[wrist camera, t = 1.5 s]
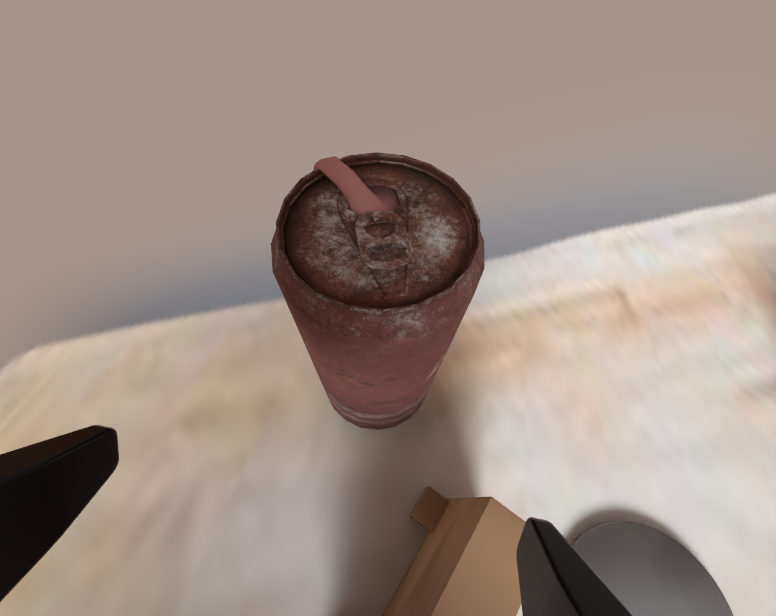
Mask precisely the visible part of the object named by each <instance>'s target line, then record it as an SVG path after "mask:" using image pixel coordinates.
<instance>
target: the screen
mask: <svg viewBox="0 0 776 616" xmlns="http://www.w3.org/2000/svg"><path fill="white" fill-rule="evenodd" d="M410 516H411V517H412V518H413V519H415V520H416V521H417V522H418V523H420V524H421V525H422V526H423V527H424V528H426V529H427V530H428V531H429V534H428V535H427V537H426V539H425V541H424V543H423V544H422V546H421V548H420V550H419V551H418V553H417V555H416V557H415V559H414V560H413V562H412V564H411V566H410V567H409V569H408V571H407V573H406V575H405V576H404V578H403V580H402V582H401V583H400V585H399V587H398V589H397V591H396V592H395V594H394V596H393V598H392V599H391V601H390V603H389V605H388V607H387V608H386V610H385V612H384V614H383V615H382V616H516V614H517V612H518V610H519V607H520V605H521V594H520V586H519V577H518V568H517V559H516V553H517V546H518V543H519V540H520V537H521V534H522V531H523V528H524V525H525V523H526V522H525V521H524V520H522V519H521V518H520V517H518V516H517V515H516V514H514V513H513V512H512V511H510V510H509V509H507V508H506V507H505V506H503V505H502V504H501V503H499V502H498V501H497V500H495V499H494V498H493V497H477V498H455V499H448V500H446V499H445V498H443V497H442V496H441V495H439V494H438V493H437V492H436V491H434V490H433V489H432V488H430V487H427V488H426V490H425V491H424V493H423V495H422V496H421V498H420V500H419V501H418V503H417V505H416V506H415V508H414V510H413V511H412V513H411V515H410Z"/></svg>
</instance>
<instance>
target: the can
mask: <svg viewBox="0 0 776 616" xmlns="http://www.w3.org/2000/svg"><path fill="white" fill-rule="evenodd" d="M271 250H272V266H273V273H274V275H275V278H276V280H277V282H278V284H279V286H280V289H281V291H282V293H283V296H284V298H285V300H286V302H287V305H288V307H289V309H290V312H291V314H292V316H293V318H294V321H295V323H296V325H297V327H298V330H299V332H300V334H301V336H302V339H303V341H304V343H305V346H306V348H307V350H308V352H309V355H310V357H311V359H312V361H313V364H314V366H315V368H316V370H317V373H318V375H319V377H320V380H321V382H322V384H323V386H324V389H325V391H326V393H327V395H328V397H329V399H330V401H331V403H332V406H333V408H334V409H335V410H336V411H337V412H338V413H339V414H340V415H341V416H342V417H343V418H344V419H345V420H347V421H349V422H351V423H353V424H355V425H357V426H359V427H361V428H369V429H377V430H379V429H384V428H389V427H394V426H397V425H398V424H400V423H402V422H403V421H405V420H407V419H409V418H410V417H411V416H412V415H413V414H414V413H415V411H416V410H417V409H418V408H419V407H420V406H421V404H422V402H423V400H424V398H425V396H426V394H427V392H428V390H429V387H430V385H431V383H432V381H433V379H434V377H435V375H436V373H437V371H438V369H439V366H440V364H441V362H442V360H443V358H444V356H445V354H446V352H447V350H448V348H449V346H450V343H451V341H452V339H453V337H454V335H455V333H456V331H457V329H458V327H459V325H460V322H461V320H462V318H463V316H464V314H465V312H466V310H467V308H468V306H469V304H470V302H471V299H472V297H473V295H474V293H475V290H476V288H477V285H478V283H479V280H480V278H481V275H482V273H483V270H484V240H483V237H482V235H481V232H480V219H479V217H478V215H477V212H476V210H475V208H474V205H473V203H472V200H471V198H470V197H469V196H468V194H467V193H466V192H465V191H464V190H463V189H462V188H461V187H460V186H459V184H458V183H457V182H456V181H455V180H454V179H453V178H452V177H450V176H448V175H447V174H445V173H444V172H442V171H441V170H439V169H437V168H436V167H434V166H433V165H431V164H428V163H425V162H422V161H419V160H416V159H413V158H410V157H408V156H404V155H395V154H385V153H369V154H359V155H349V156H346V157H343V158H340V159H338V158H337V157H330V158H325V159H321V160H319V161H318V162H317V163H316V164H315V166H314V171H312V172H311V173H309V174H308V175H306V176H305V177H303V178H302V179H300V180H299V182H298V183H297V184H296V185H295V187H294V188H293V189H292V190H291V191H290V193H289V194H288V195H287V196H286V197H285V199H284V201H283V204H282V207H281V210H280V213H279V216H278V218H277V221H276V231H275V234H274V237H273V240H272V243H271Z"/></svg>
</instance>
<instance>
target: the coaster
mask: <svg viewBox="0 0 776 616" xmlns="http://www.w3.org/2000/svg"><path fill="white" fill-rule="evenodd" d="M571 546H572V547H573V548H574V549H575V551H576V552H577V553H578V554H579V555H580V556H581V557H582V559H583V560H584V561H585V562H586V563H587V564H588V565H589V566H590V568H591V569H592V570H593V571H594V572H595V573H596V574H597V576H598V577H599V578H600V579H601V580H602V581H603V582H604V584H605V585H606V586H607V587H608V588H609V589H610V590H611V592H612V593H613V594H614V595H615V596H616V597H617V598H618V599H619V601H620V602H621V603H622V604H623V605H624V606H625V607H626V609H627V610H628V611H629V612H630V613H631V614H632V615H633V616H733V614H732V611H731V609H730V607H729V605H728V603H727V601H726V599H725V597H724V595H723V593H722V592H721V590H720V589H719V587H718V585H717V584H716V582H715V581H714V579H713V578H712V577H711V575H710V574H709V573H708V571H707V570H706V569H705V567H704V566H703V565H702V564H701V563H700V562H699V561H698V560H697V559H696V558H695V557H694V556H693V555H692V554H691V553H690V552H689V551H688V550H687V549H686V548H685V547H683V546H682V545H681V544H679V543H678V542H677V541H675V540H674V539H672V538H671V537H669V536H667V535H666V534H664V533H662V532H660V531H658V530H656V529H654V528H651V527H648V526H645V525H642V524H637V523H632V522H606V523H602V524H599V525H596V526H594V527H592V528H590V529H588V530H586V531H585V532H584V533H582V534H581V535H580V536H579V537H578V538H577V539H576V540H575V541H574V542H573V543H572V545H571Z"/></svg>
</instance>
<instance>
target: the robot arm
mask: <svg viewBox="0 0 776 616" xmlns="http://www.w3.org/2000/svg"><path fill="white" fill-rule="evenodd" d="M118 462H119V451H118V438H117V432H116V431H115V429H113V428H110V427H105V426H100V425H93V426H90V427H87V428H83V429H80V430H77V431H74V432H71V433H68V434H64V435H61V436H58V437H55V438H52V439H48V440H45V441H42V442H39V443H36V444H33V445H29V446H26V447H23V448H20V449H17V450H14V451H10V452H7V453H4V454H1V455H0V602H1V601H2V600H3V599H4V597H5V596H6V595H7V594H8V593H9V592H10V591H11V590H12V589H13V588H14V587H15V586H16V585H17V584H18V583H19V582H20V580H21V579H22V578H23V577H24V576H25V575H26V574H27V573H28V572H29V571H30V570H31V569H32V568H33V567H34V566H35V565H36V563H37V562H38V561H39V560H40V559H41V558H42V557H43V556H44V555H45V554H46V553H47V552H48V551H49V550H50V548H51V547H52V546H53V545H54V544H55V543H56V542H57V541H58V540H59V538H60V537H61V536H62V535H63V534H64V532H65V531H66V530H67V529H68V528H69V526H70V525H71V524H72V523H73V521H74V520H75V519H76V518H77V517H78V515H79V514H80V513H81V512H82V510H83V509H84V508H85V507H86V505H87V504H88V503H89V502H90V500H91V499H92V498H93V497H94V495H95V494H96V493H97V492H98V491H99V489H100V488H101V487H102V486H103V484H104V483H105V482H106V481H107V479H108V478H109V477H110V476H111V474H112V473H113V472H114V470H115V469H116V467H117V465H118ZM516 559H517V568H518V577H519V586H520V594H521V603H522V612H523V616H633V615H632V614H631V613H630V612H629V611H628V610H627V609H626V607H625V606H624V605H623V604H622V603H621V602H620V601H619V599H618V598H617V597H616V596H615V595H614V594H613V593H612V592H611V590H610V589H609V588H608V587H607V586H606V585H605V584H604V582H603V581H602V580H601V579H600V578H599V577H598V576H597V574H596V573H595V572H594V571H593V570H592V569H591V568H590V566H589V565H588V564H587V563H586V562H585V561H584V560H583V559H582V557H581V556H580V555H579V554H578V553H577V552H576V551H575V549H574V548H573V547H572V546H571V545H570V544H569V543H568V541H567V540H566V539H565V538H564V537H563V536H562V535H561V533H560V532H559V531H558V530H557V529H556V528H555V527H554V526H553V524H552V523H550V522H549V521H547V520H542V519H538V518H533V517H531V518H528V519H527V521H526V523H525V525H524V528H523V531H522V534H521V537H520V540H519V543H518V546H517V553H516Z"/></svg>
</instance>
